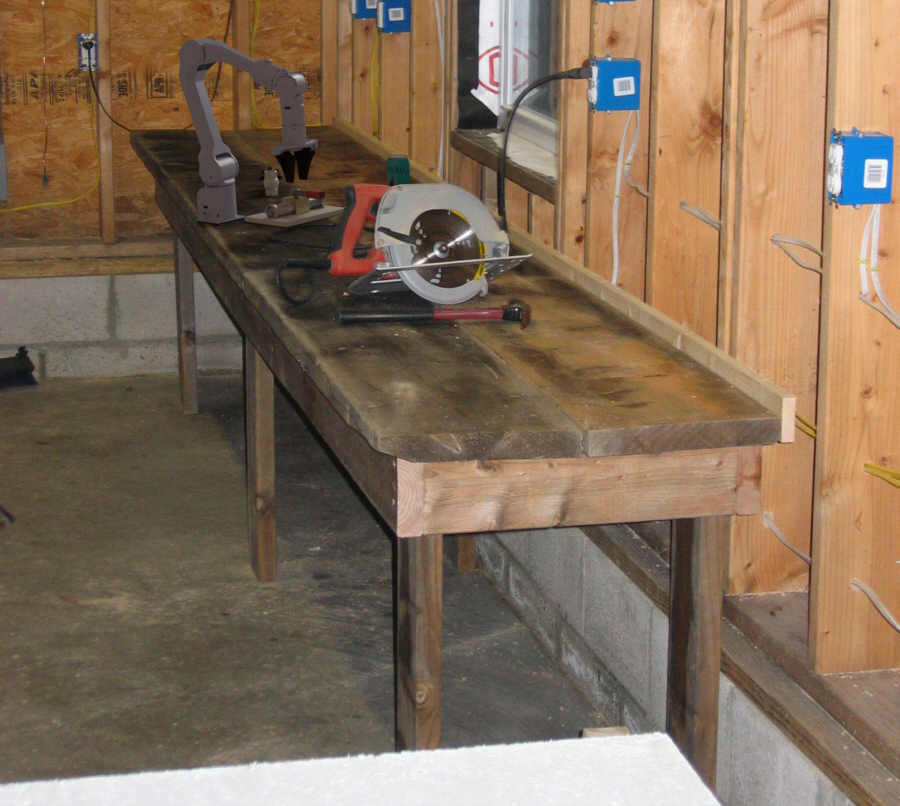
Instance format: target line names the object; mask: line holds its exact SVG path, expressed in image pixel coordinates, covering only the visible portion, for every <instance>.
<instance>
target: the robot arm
mask: <svg viewBox="0 0 900 806" xmlns="http://www.w3.org/2000/svg"><path fill="white" fill-rule="evenodd" d="M177 56H178V58H179V68H178V79H179V83H180V87H181V89H182V92H183V95H184V96H183V97H184V99H185V101H186V105H187V108H188V111H189V114H190V117H191V121H192V124H193V126H194V129H195V133H196V136H197V139H198V142H199V146H200V151H199V154H198V156H197V160H198V165H199V168H198V174H199V177H200V179H201V180H202V181H203V183H204V187H201V188H199V190H197V194H196V206H197V216H198V217H197V218H196V219H195V221H197V222H201V223H209V224H217V225H218V224H222V223H226V222H227V223H229V222H233V221H237V220H240V219H245V217H246V216H245V215H242V214H241V215H240V214H238V213H237V212H238V211H237V210H238V208H237V207H238V206H237V197H236V194H237V193H236V184H235V183H236V177H237V176H238V174H239V172H240V166H239V162H238V160H237V159H236V157H235V156H234V155H233V153H232V151H231V148H230V147H229V146H228V145H227V144H225V143H224V142H223V139H222V136H221V135H222V134H221V133H220V130H219V126H218V123H217V120H216V117H215V114H214V111H213V107H212V105H211V101H210V98H209V95H208V91H207V88H206V86H205V85H206V84H205V82H204V78H205V77H206V76H207V73H208V71H209V70H210V69H211V68H212V67H213V66H214V65H216V64H217V62H218V63H219V62H222V63H225V64H227V65H229V66H232V67H234V68H236V69H239V70H241V71H243V72H245V73H248V74H250V77H251V80H252V81H253V82H255V83H257V84H259V85H261V86H263V87H265V88H267V89H269V90H271V91H274V93H275V94H276V95H277V96H278V98H279V104H280V117H281V118H280V119H281V138H282V143H279V144H275V145H272V146H270V155H272V156H273V155H274V157H275V159H276V161H277V162H278V163H279V166H280V167H281V171H282V172H283V173H282V174H283V176H284V180H285V183H288V184H294V183H295V178H296V177H295V175H296V170H295V169H296V168H295V167H297V174H298V180H300V181H307V180H308V178H309V172H310V167H311V164H312V161H313V159H314V157H315V155H316V150H315V149H317V148H319V139H315V138H314V139H312V138H310V139H307V129H306V126H307V125H306V109H305V94H306V92H307V91H308V86H309V85H308V80H307V78H306V77H305V76H304V75H303V74H301V73H300V72H299V71H292V72H290V71H289V70H290V69H289V68H287V67H282V66H280V65H279V66H278V65H277V64H275V63H273V60H272V59H270V58H265V59H264V58H260V59H257V60H255V59H254V58H252V57H250V56H248V55H246V54H244V53H243V52H241V51H239V50H237V49H235V48H233V47H232V46H230V45H228V44H227V43H226V42H224V41H222V40H219V39H216V38H215V37H212V36H208V37H204V38H197V39H196V38H195V39H187V40H186V41H184V42H183V43H182V45H181V47H180V48H179V50H178V52H177Z"/></svg>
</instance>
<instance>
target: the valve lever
mask: <svg viewBox="0 0 900 806" xmlns="http://www.w3.org/2000/svg"><path fill="white" fill-rule="evenodd" d="M325 192H326V191H325V190H321V189H320V190H319V189H301V188H298V187H297V188H295V187H294V188H290V189H289V196H302V197H306V198H311V199H324V198H325V199H326V193H325Z"/></svg>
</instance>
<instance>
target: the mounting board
mask: <svg viewBox="0 0 900 806" xmlns="http://www.w3.org/2000/svg"><path fill="white" fill-rule="evenodd" d="M344 208H345V207H340V206H335V205H334V206H333V205H325V207H322V208H321V207H318V208H314V209H310V212H306V213H302V214H298V215H295V214H288V215H283V216H279V217H277V218H275V219H274V218H268V217H267V216H266V213H265V211H264V212H261V213H255V214H252V215H247V216H245V218H244V220H245V222H247V223H254V224H261V225H268V226H276V227H284V228H288V227H293V226H297V225H300V224H305V223H310V222H313V221H317V220H322V219H327V218H331V217H335V216H338V215H342V214H341V213H342V212H343V209H344Z"/></svg>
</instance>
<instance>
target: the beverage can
mask: <svg viewBox="0 0 900 806" xmlns="http://www.w3.org/2000/svg"><path fill="white" fill-rule="evenodd" d="M386 158H387V159H386V164H385V165H386V167H385V168H386V169H385V170H386V186H387V185H389V186H393V185H399V184H410V185H411V172H410V171H411V168H410V165H411V164H410V159H409V156H408V154H407V155H406V154H390V155H387V156H386Z"/></svg>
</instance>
